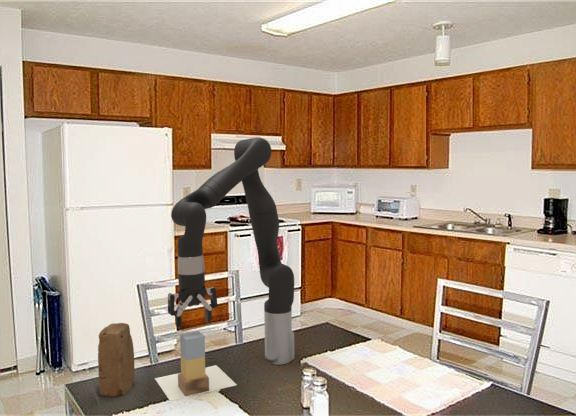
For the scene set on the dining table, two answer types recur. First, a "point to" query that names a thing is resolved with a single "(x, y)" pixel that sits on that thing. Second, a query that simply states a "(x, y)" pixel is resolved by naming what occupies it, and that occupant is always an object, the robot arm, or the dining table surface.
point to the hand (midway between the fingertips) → (193, 325)
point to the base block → (193, 385)
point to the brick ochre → (193, 368)
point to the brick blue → (192, 345)
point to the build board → (215, 383)
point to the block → (115, 360)
